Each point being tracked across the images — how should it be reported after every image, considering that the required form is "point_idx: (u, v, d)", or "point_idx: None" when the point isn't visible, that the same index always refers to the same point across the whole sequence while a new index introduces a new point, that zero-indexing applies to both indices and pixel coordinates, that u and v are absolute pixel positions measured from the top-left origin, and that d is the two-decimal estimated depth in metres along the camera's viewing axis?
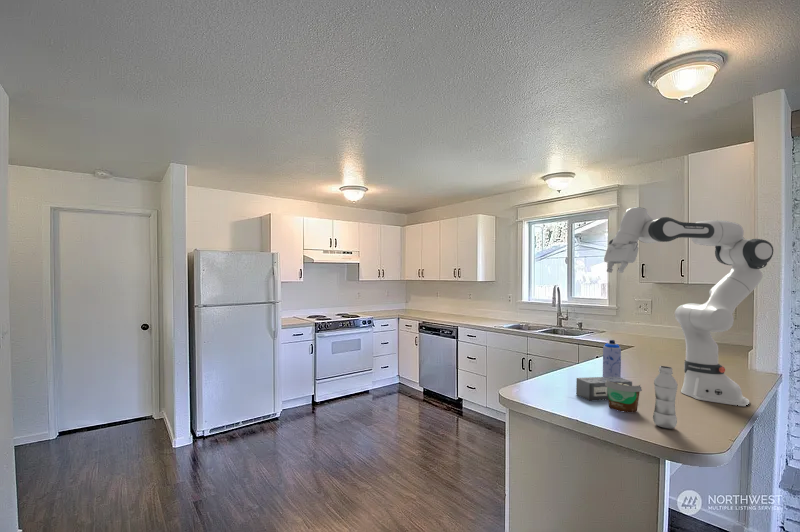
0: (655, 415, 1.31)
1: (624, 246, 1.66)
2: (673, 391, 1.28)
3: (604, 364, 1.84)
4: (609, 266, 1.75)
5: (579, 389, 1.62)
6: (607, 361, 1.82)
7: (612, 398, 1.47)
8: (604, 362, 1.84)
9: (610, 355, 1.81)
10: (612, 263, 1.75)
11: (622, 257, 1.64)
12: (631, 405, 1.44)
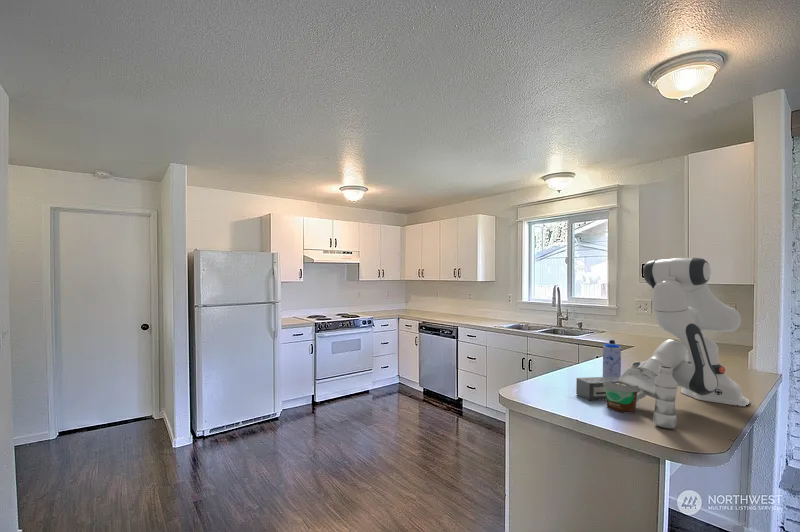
0: (655, 415, 1.31)
1: None
2: (673, 391, 1.28)
3: (604, 364, 1.84)
4: None
5: (579, 389, 1.62)
6: (607, 361, 1.82)
7: (609, 398, 1.47)
8: (604, 362, 1.84)
9: (610, 355, 1.81)
10: None
11: (653, 389, 1.41)
12: (628, 405, 1.44)
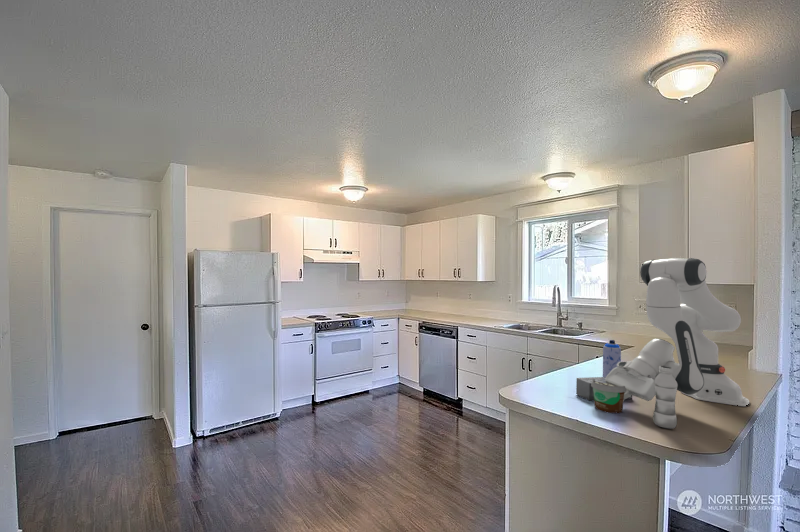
0: (655, 415, 1.31)
1: (642, 378, 1.43)
2: (673, 391, 1.28)
3: (604, 364, 1.84)
4: None
5: (579, 389, 1.62)
6: (607, 361, 1.82)
7: (596, 398, 1.47)
8: (604, 362, 1.84)
9: (610, 355, 1.81)
10: None
11: (638, 389, 1.40)
12: (614, 406, 1.43)
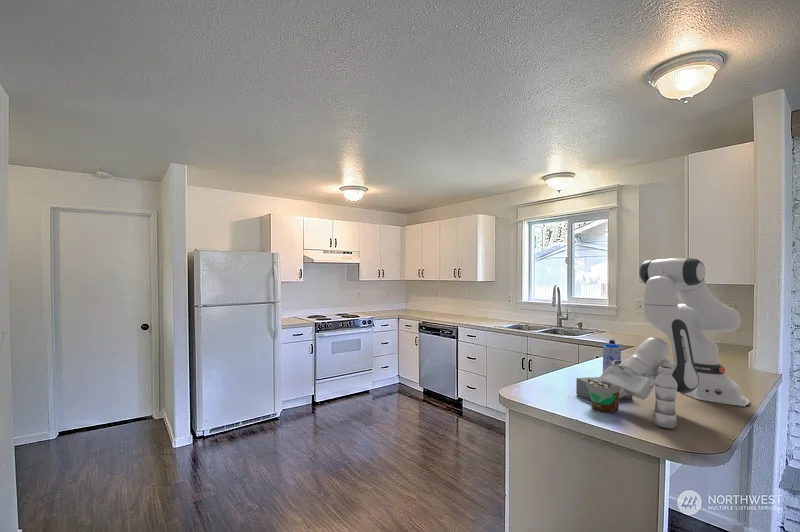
0: (655, 415, 1.31)
1: (637, 376, 1.43)
2: (673, 391, 1.28)
3: (604, 364, 1.84)
4: None
5: (579, 389, 1.62)
6: (607, 361, 1.82)
7: (592, 398, 1.46)
8: (604, 362, 1.84)
9: (610, 355, 1.81)
10: None
11: (632, 388, 1.40)
12: (609, 406, 1.42)
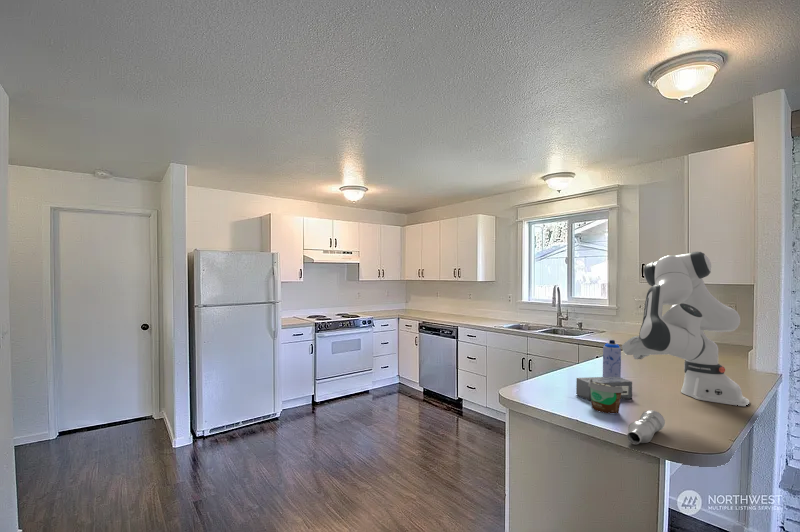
0: None
1: None
2: (652, 436, 1.18)
3: (604, 364, 1.84)
4: None
5: (579, 389, 1.62)
6: (607, 361, 1.82)
7: (593, 398, 1.47)
8: (604, 362, 1.84)
9: (610, 355, 1.81)
10: None
11: None
12: (610, 406, 1.42)
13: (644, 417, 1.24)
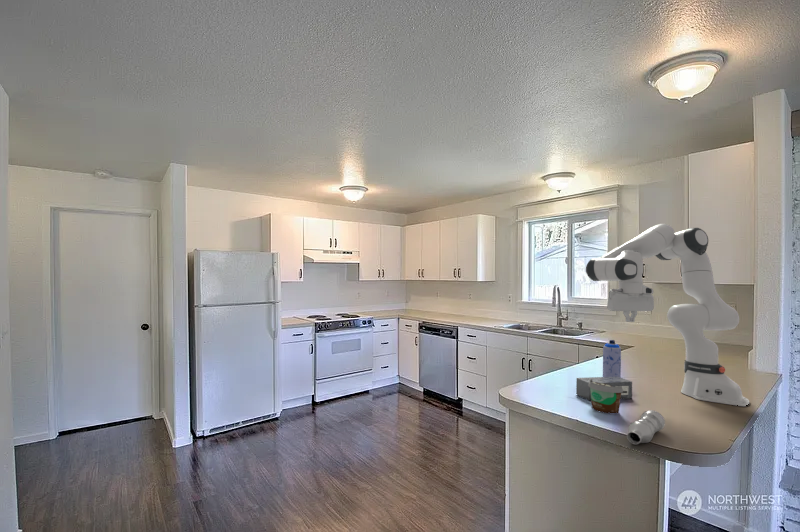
0: None
1: None
2: (652, 436, 1.18)
3: (604, 364, 1.84)
4: (632, 315, 1.65)
5: (579, 389, 1.62)
6: (607, 361, 1.82)
7: (593, 398, 1.47)
8: (604, 362, 1.84)
9: (610, 355, 1.81)
10: (633, 311, 1.65)
11: None
12: (610, 406, 1.42)
13: (644, 417, 1.24)
